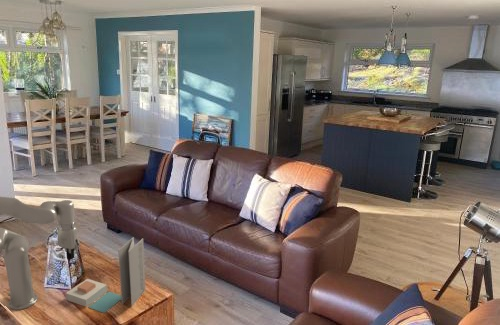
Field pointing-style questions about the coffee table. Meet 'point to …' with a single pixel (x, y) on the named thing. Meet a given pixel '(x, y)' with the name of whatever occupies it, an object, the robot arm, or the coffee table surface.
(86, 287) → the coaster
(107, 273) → the coffee table surface
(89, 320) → the coffee table surface
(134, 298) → the brochure
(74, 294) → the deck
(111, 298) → the mat
